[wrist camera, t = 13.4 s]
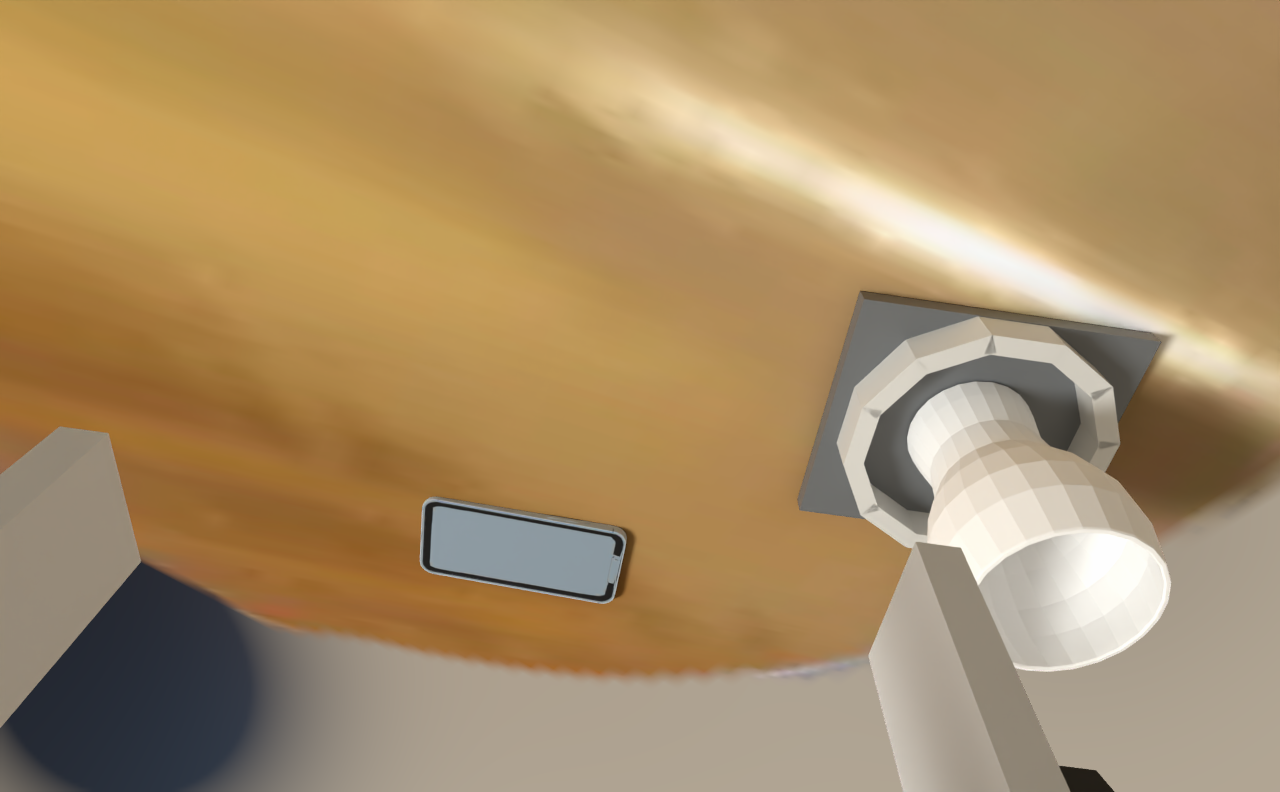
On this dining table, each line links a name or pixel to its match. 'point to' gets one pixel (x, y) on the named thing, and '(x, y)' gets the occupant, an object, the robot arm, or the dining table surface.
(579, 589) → the smartphone
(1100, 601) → the cup
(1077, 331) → the holder tray
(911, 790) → the robot arm
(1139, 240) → the dining table surface
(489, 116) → the dining table surface
